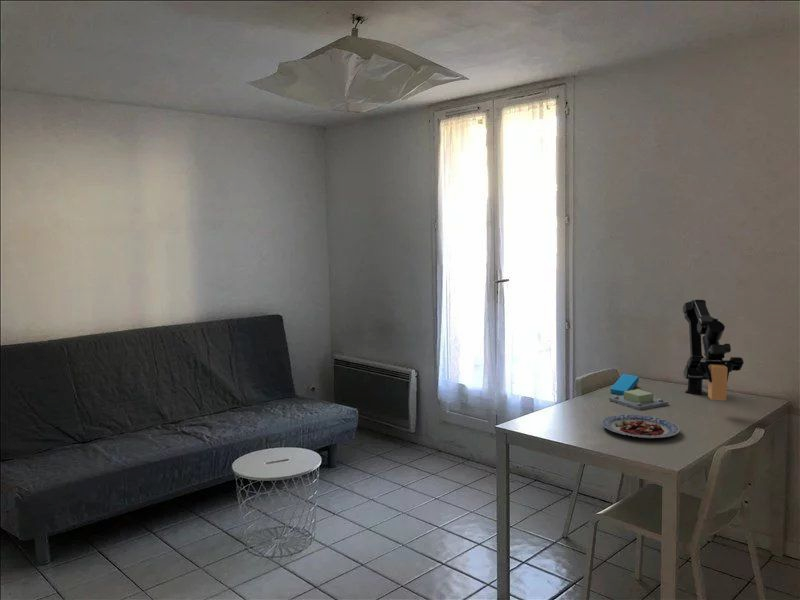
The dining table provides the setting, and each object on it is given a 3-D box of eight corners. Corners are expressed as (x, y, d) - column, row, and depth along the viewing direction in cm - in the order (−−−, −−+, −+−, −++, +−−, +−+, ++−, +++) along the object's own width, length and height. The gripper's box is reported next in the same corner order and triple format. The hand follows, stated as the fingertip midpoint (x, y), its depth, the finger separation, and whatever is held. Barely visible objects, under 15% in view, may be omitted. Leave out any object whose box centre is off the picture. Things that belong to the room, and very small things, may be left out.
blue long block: (627, 405, 274) (642, 386, 287) (625, 391, 272) (641, 372, 285) (611, 403, 279) (627, 384, 291) (610, 388, 277) (626, 370, 289)
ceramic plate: (695, 435, 222) (696, 426, 222) (644, 448, 209) (645, 439, 209) (635, 416, 244) (635, 408, 244) (585, 427, 232) (586, 419, 231)
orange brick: (708, 396, 247) (709, 364, 245) (722, 396, 246) (723, 364, 244) (711, 399, 242) (713, 367, 240) (726, 400, 241) (727, 367, 239)
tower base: (637, 395, 273) (637, 385, 272) (668, 404, 258) (668, 394, 258) (609, 400, 266) (609, 390, 265) (639, 410, 251) (639, 399, 251)
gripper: (690, 335, 247) (696, 369, 237) (743, 336, 243) (751, 371, 234) (684, 351, 255) (690, 385, 246) (735, 352, 252) (743, 387, 242)
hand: (718, 382), depth 242 cm, fingers closed on orange brick, 5 cm apart
